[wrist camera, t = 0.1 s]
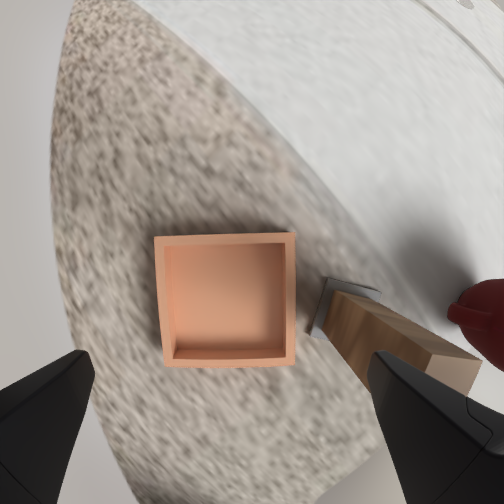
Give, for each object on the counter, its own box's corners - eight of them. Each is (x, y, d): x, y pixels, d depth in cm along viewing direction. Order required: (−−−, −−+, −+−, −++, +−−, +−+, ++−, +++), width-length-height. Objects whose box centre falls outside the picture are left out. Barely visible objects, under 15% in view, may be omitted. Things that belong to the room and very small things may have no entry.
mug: (414, 350, 25) (476, 395, 15) (426, 267, 24) (501, 283, 14) (484, 339, 25) (544, 368, 15) (495, 268, 25) (562, 280, 15)
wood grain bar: (360, 345, 25) (453, 437, 10) (308, 334, 24) (375, 441, 10) (379, 291, 24) (497, 346, 10) (327, 277, 24) (425, 333, 10)
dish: (290, 352, 24) (294, 364, 22) (171, 354, 24) (165, 366, 22) (289, 232, 24) (294, 232, 21) (163, 235, 23) (154, 236, 21)
